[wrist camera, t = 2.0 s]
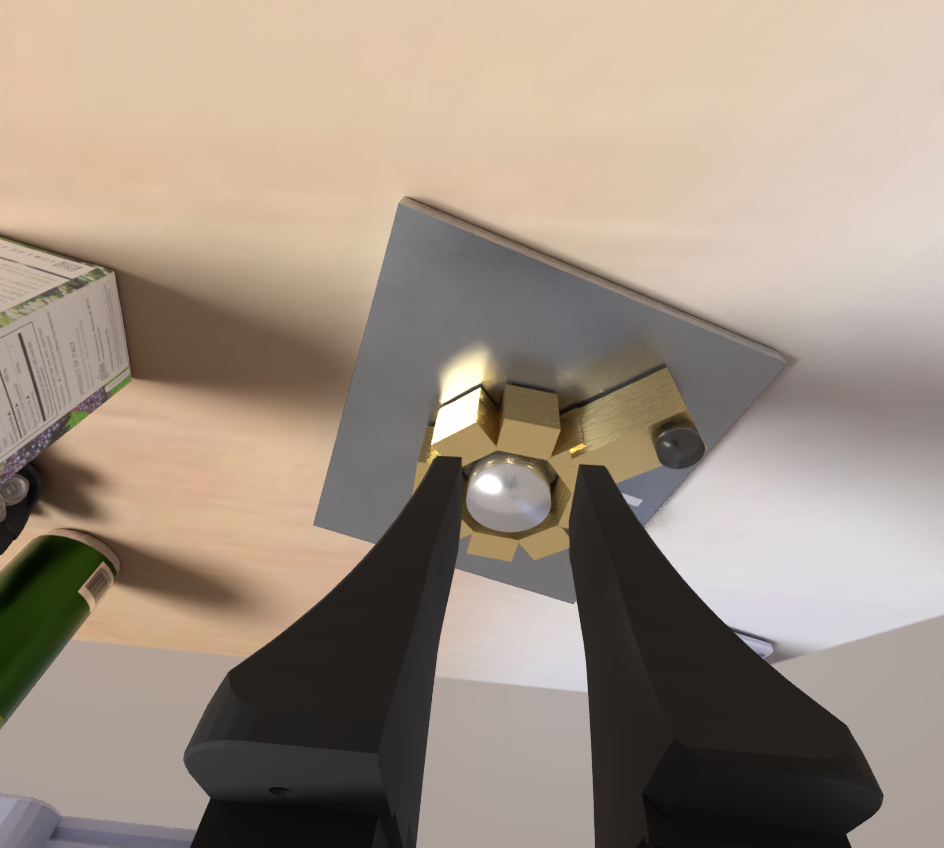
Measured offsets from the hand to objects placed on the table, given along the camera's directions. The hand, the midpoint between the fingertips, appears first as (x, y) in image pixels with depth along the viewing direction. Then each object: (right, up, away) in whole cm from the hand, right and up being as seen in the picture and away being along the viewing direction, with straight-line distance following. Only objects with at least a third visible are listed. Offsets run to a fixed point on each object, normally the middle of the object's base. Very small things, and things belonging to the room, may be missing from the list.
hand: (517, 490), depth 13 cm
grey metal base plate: (+1, +1, +12) cm, 12 cm away
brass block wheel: (+2, +1, +10) cm, 10 cm away
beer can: (-27, -7, +20) cm, 34 cm away
